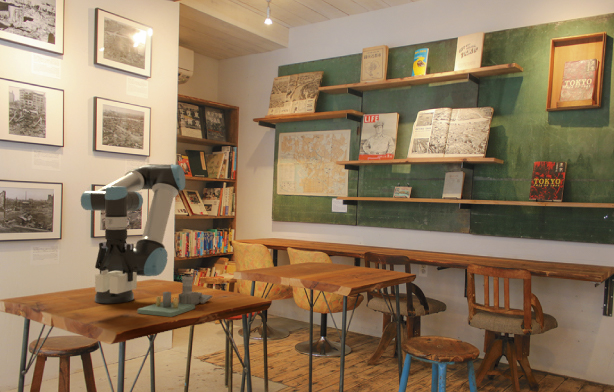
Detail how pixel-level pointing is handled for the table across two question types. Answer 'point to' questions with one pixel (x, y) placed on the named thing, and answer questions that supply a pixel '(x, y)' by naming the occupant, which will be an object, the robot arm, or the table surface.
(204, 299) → the camera
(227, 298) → the table surface
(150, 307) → the board
